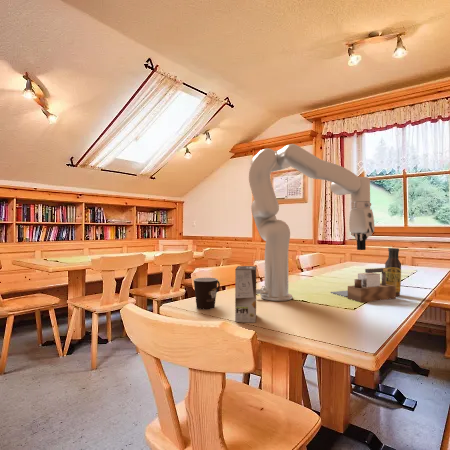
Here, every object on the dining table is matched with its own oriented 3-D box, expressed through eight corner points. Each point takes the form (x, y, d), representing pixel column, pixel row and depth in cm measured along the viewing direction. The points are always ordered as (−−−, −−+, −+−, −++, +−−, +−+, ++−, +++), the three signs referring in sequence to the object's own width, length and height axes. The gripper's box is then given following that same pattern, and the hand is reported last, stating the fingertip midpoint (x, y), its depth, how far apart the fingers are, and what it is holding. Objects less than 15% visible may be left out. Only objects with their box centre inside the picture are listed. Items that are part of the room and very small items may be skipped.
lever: (369, 273, 129) (369, 269, 129) (364, 272, 131) (364, 268, 131) (389, 271, 132) (389, 268, 132) (383, 270, 135) (383, 267, 135)
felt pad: (345, 297, 133) (345, 296, 133) (330, 292, 142) (330, 292, 142) (367, 294, 138) (367, 293, 138) (352, 290, 146) (352, 290, 146)
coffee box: (256, 323, 98) (256, 269, 98) (234, 322, 98) (234, 269, 98) (256, 314, 107) (256, 265, 107) (236, 314, 108) (236, 265, 108)
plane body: (360, 302, 124) (360, 275, 124) (347, 298, 131) (347, 273, 131) (395, 298, 131) (395, 273, 131) (381, 295, 137) (381, 270, 137)
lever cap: (366, 287, 127) (366, 275, 127) (357, 285, 131) (357, 273, 131) (380, 286, 130) (380, 274, 130) (371, 284, 134) (371, 272, 134)
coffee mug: (199, 311, 111) (199, 282, 111) (190, 306, 118) (190, 278, 118) (229, 307, 116) (229, 279, 116) (218, 302, 124) (218, 276, 124)
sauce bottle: (384, 295, 136) (384, 248, 136) (383, 292, 142) (383, 247, 142) (402, 297, 134) (402, 248, 134) (400, 294, 140) (400, 247, 140)
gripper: (381, 205, 132) (382, 250, 132) (354, 207, 146) (355, 248, 146) (367, 205, 130) (368, 251, 129) (341, 207, 143) (341, 249, 143)
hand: (361, 249), depth 138 cm, fingers closed
